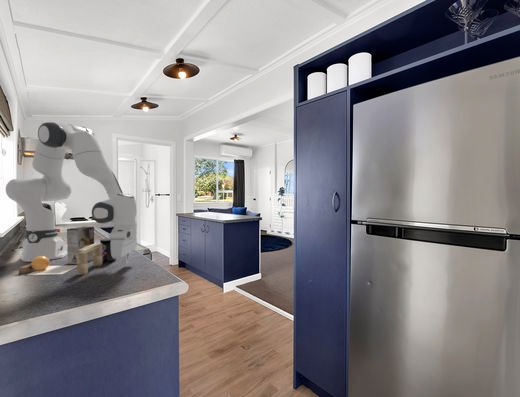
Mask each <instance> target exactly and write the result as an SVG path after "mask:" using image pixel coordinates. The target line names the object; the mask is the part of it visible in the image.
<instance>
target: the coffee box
mask: <svg viewBox="0 0 520 397" xmlns="http://www.w3.org/2000/svg"><path fill="white" fill-rule="evenodd" d="M66 236H67V237H66V240H67V241H66V242H67V243H66V250H67V254H68V255H67V264H68V265H69V264H70V265H72V264H73V265H77V250H79V249H82V248H84V247H87V246H89V245H92V244H95V226H78V227H77V226H76V227H69V228H66ZM91 261H93V250H91V251H89V252H88V262H91Z"/></svg>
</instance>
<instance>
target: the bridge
mask: <svg viewBox="0 0 520 397" xmlns="http://www.w3.org/2000/svg"><path fill="white" fill-rule="evenodd" d="M91 250H93V260H92V266H93V267H98V266H99V267H101V266H102V265H103V262H102V243H100V242H97V243H96V242H94V244H92V245H89V246H87V247H84V248H82V249H79V250H77V264H76V265H77V267H76V274H77V275H78V276H80V275H84V276H85V275H87V274H88V273H89V261H88V252H89V251H91Z"/></svg>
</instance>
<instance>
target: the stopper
mask: <svg viewBox="0 0 520 397" xmlns="http://www.w3.org/2000/svg"><path fill="white" fill-rule="evenodd" d="M34 271H35V270H34V269H33V268H32V266H31V263H29V264H25V265H23V266H20V267H18V275H25V274H26V275H27V274H29V273H32V272H34Z"/></svg>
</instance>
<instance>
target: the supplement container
mask: <svg viewBox="0 0 520 397" xmlns="http://www.w3.org/2000/svg"><path fill="white" fill-rule="evenodd" d="M99 243H102V264H103V263H105V264H107V263H113V262H115V261H116V260H117V258H112V256H111V239H110V238H109V237H107V238H101V239H100V240H99Z"/></svg>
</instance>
